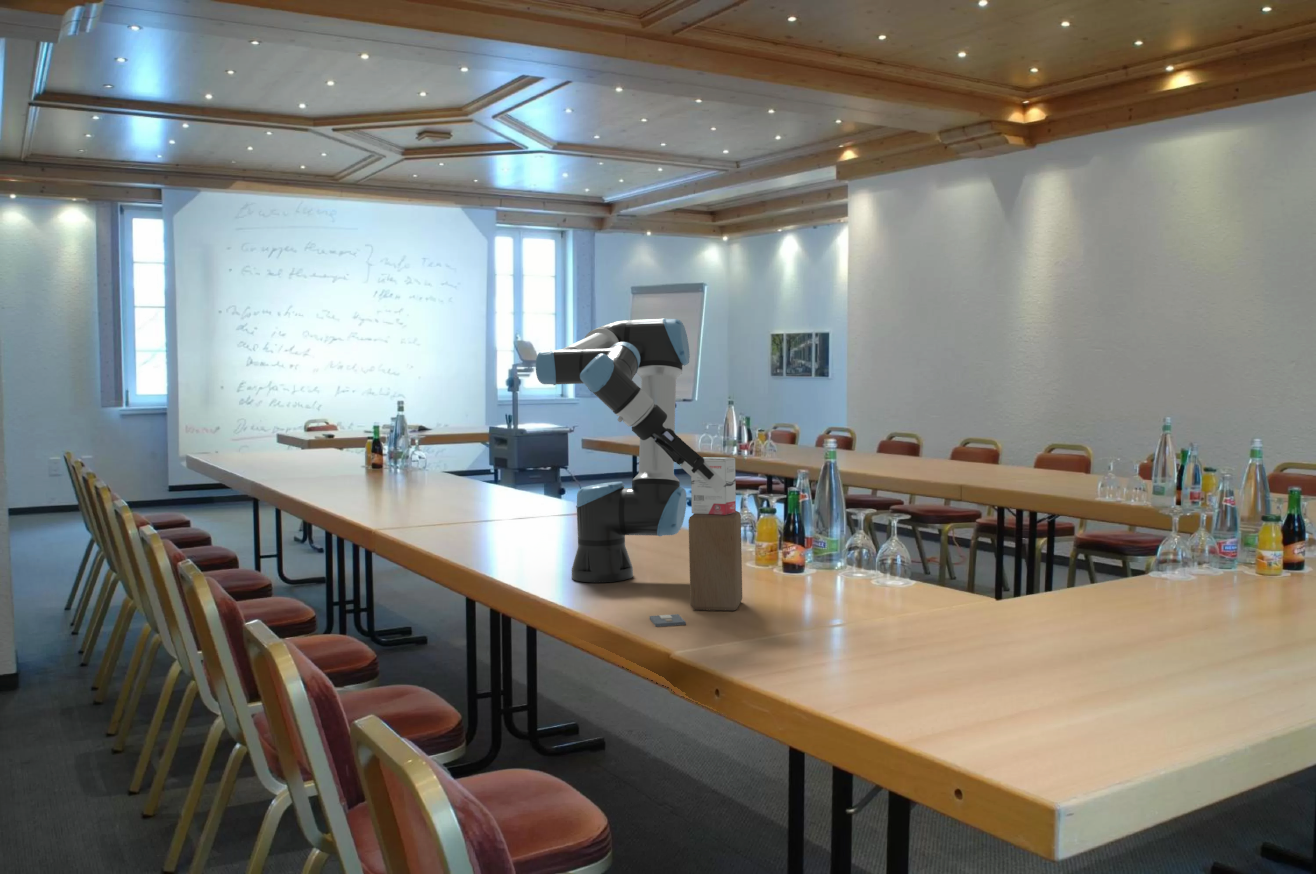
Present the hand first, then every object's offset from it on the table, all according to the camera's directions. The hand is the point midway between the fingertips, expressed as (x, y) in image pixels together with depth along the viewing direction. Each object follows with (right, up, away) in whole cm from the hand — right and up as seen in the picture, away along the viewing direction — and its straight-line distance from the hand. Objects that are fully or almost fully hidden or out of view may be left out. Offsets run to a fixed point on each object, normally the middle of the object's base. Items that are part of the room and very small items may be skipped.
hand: (713, 484), depth 224 cm
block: (+1, -26, +2) cm, 26 cm away
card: (-10, -27, -12) cm, 31 cm away
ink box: (0, -6, +1) cm, 6 cm away
